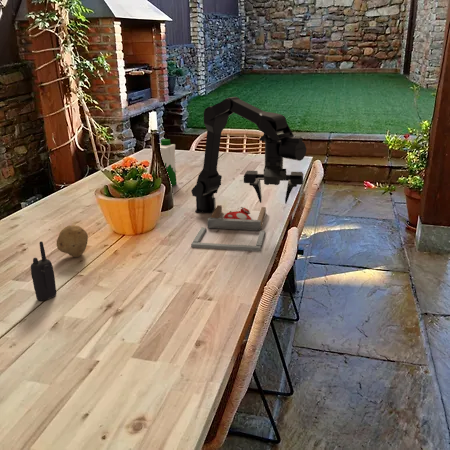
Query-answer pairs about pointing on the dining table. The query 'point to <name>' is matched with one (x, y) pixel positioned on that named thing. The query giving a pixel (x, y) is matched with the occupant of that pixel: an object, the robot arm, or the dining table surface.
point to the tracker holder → (238, 214)
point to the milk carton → (169, 159)
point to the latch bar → (234, 224)
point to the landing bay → (227, 246)
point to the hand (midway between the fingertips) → (273, 202)
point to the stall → (219, 210)
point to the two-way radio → (43, 277)
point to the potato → (72, 240)
